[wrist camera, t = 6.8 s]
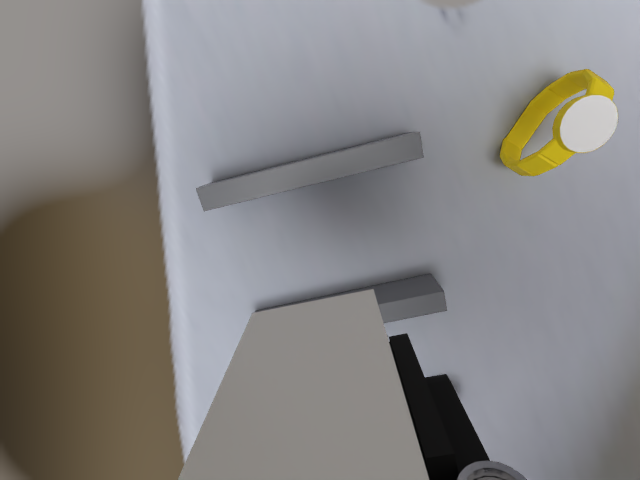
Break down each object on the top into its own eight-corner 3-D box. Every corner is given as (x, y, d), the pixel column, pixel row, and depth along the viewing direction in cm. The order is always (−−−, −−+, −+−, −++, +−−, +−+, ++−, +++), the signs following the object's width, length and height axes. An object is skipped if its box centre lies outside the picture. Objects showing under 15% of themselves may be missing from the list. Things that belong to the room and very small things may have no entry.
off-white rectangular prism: (373, 288, 10) (451, 558, 4) (398, 413, 12) (490, 775, 5) (252, 313, 11) (125, 597, 4) (290, 431, 12) (243, 789, 5)
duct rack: (411, 131, 22) (427, 130, 18) (468, 489, 31) (486, 534, 28) (209, 182, 23) (187, 191, 20) (320, 510, 33) (319, 557, 29)
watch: (511, 174, 23) (565, 193, 18) (478, 155, 23) (523, 167, 17) (574, 92, 21) (658, 83, 16) (540, 69, 21) (612, 52, 15)
